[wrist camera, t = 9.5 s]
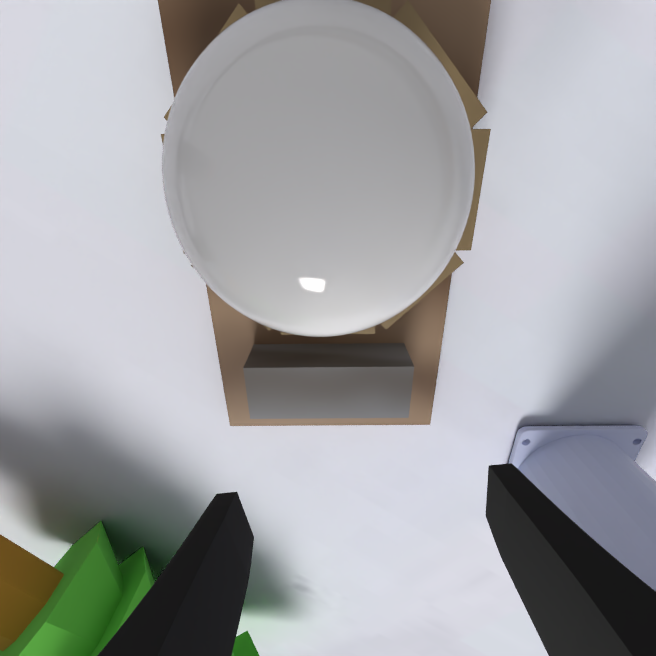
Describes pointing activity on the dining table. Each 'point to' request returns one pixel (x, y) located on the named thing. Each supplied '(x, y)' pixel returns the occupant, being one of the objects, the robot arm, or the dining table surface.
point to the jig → (370, 344)
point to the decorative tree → (73, 598)
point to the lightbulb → (318, 166)
